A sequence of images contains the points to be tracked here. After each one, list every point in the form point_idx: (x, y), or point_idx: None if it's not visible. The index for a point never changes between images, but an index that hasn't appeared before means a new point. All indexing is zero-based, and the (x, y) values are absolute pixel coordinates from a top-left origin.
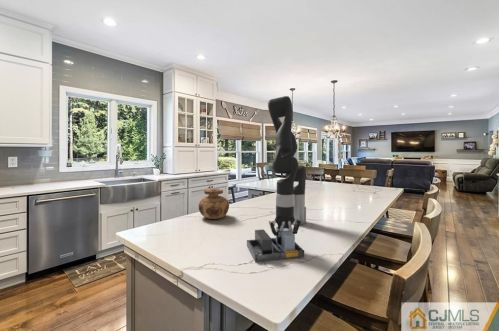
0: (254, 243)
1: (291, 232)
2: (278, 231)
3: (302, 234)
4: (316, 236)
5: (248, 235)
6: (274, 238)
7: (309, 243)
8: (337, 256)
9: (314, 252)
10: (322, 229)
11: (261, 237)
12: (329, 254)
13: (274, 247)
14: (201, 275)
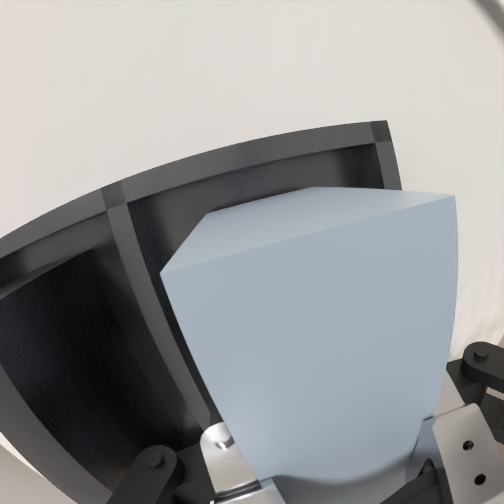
0: (21, 249)
1: (404, 481)
2: (238, 477)
3: (438, 18)
4: (497, 78)
5: (20, 40)
6: (187, 178)
7: (475, 179)
8: (495, 343)
9: (454, 325)
10: (496, 15)
11: (79, 501)
12: (487, 331)
13: (192, 410)
14: (17, 455)
